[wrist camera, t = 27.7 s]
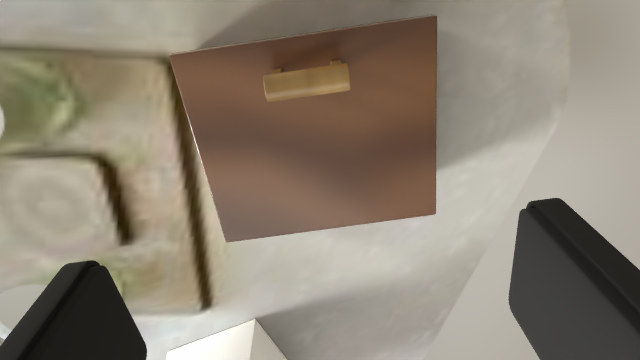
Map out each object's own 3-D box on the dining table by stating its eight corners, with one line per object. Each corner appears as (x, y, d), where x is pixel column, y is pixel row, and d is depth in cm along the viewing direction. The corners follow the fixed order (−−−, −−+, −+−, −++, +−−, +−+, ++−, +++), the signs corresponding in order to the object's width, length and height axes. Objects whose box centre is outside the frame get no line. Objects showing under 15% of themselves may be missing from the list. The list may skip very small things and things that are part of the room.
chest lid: (171, 53, 27) (146, 70, 22) (433, 14, 26) (460, 24, 22) (227, 237, 34) (216, 277, 30) (433, 209, 34) (453, 246, 29)
